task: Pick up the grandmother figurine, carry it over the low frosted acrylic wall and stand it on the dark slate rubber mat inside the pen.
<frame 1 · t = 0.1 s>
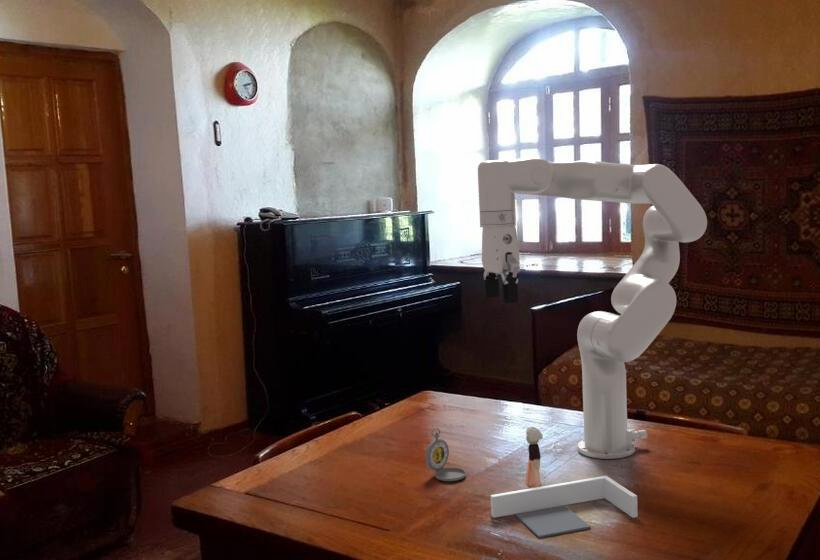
hand: (501, 300, 170), 37 cm above the table, tool pointing down, fingers open, 9 cm apart
grandmother figurine: (535, 489, 162), on the table
pocket watch: (447, 476, 171), on the table
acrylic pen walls: (551, 506, 152), resting in slate mat
slate mat: (552, 522, 145), on the table
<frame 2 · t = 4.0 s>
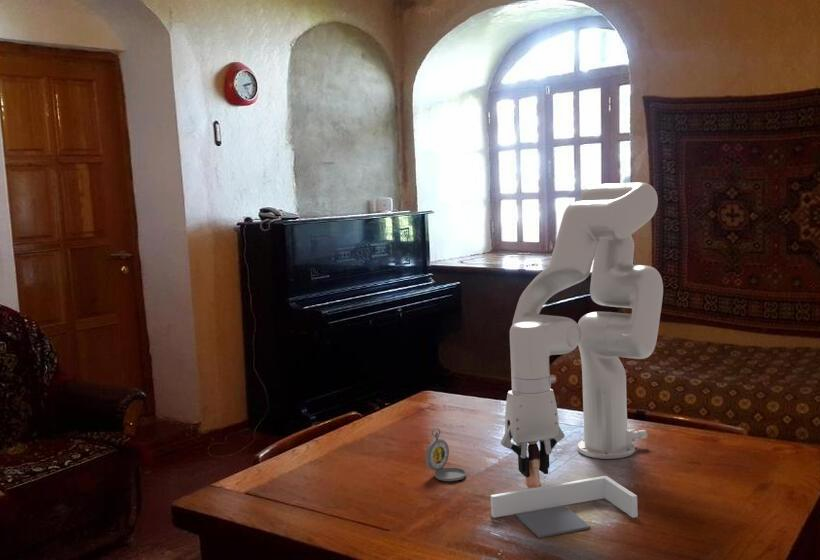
hand: (534, 472, 161), 3 cm above the table, tool pointing down, fingers closed on grandmother figurine, 3 cm apart
grandmother figurine: (534, 489, 161), on the table, touching gripper
everything else where it was.
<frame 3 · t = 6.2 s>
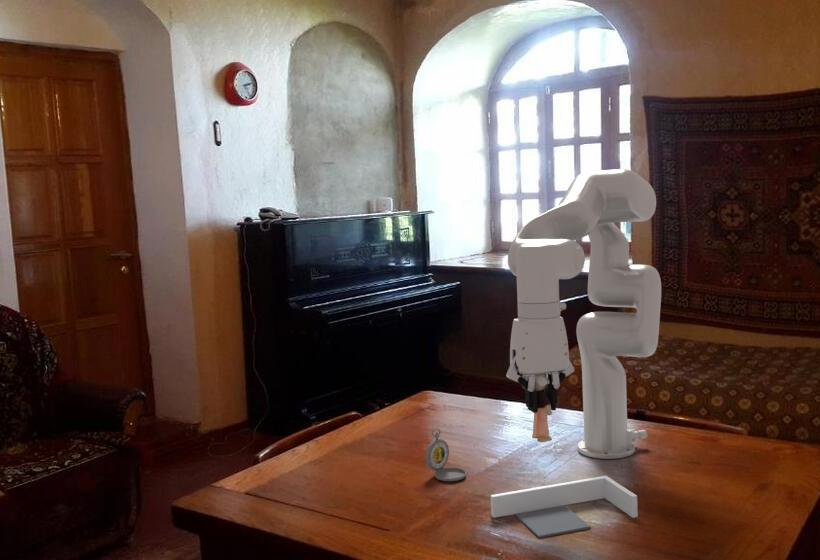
hand: (541, 408, 148), 20 cm above the table, tool pointing down, fingers closed on grandmother figurine, 3 cm apart
grandmother figurine: (543, 440, 148), point 14 cm above the table, touching gripper
everything else where it was.
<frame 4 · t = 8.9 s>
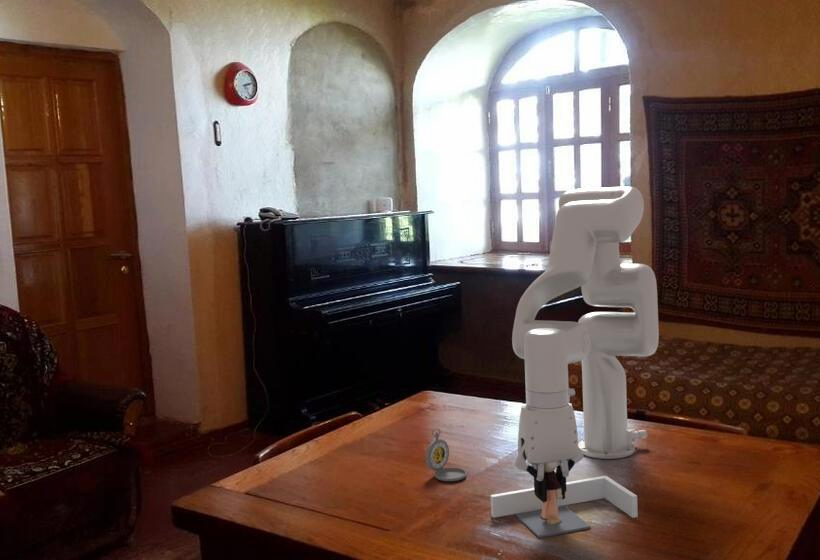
hand: (550, 497, 144), 5 cm above the table, tool pointing down, fingers closed on grandmother figurine, 2 cm apart
grandmother figurine: (552, 521, 145), resting on slate mat, touching gripper
everything else where it was.
when the fingers open (4 cm above the table, at t = 9.6 s): grandmother figurine stays where it is, resting on slate mat.
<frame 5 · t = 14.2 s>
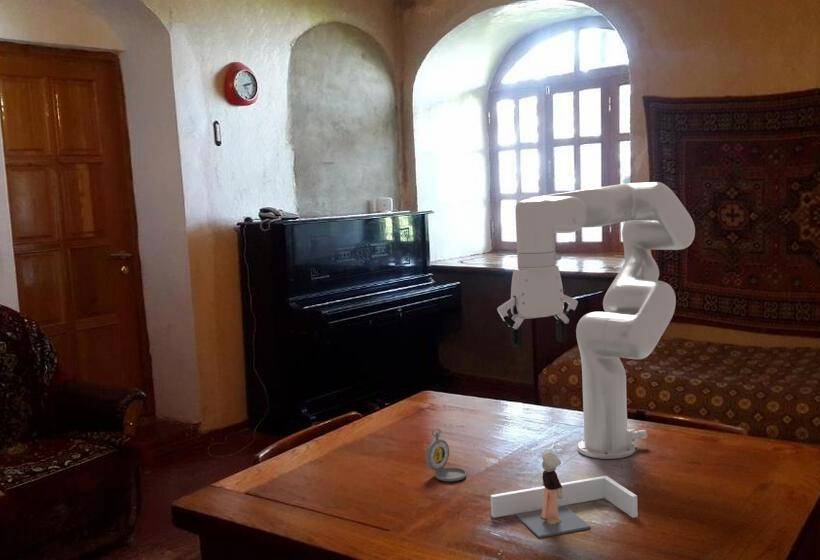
hand: (539, 344, 163), 28 cm above the table, tool pointing down, fingers open, 9 cm apart
grandmother figurine: (552, 521, 145), resting on slate mat
everything else where it was.
at the end: grandmother figurine inside the target area on the slate mat (0.1 cm from its centre), point 0.2 cm above the slate mat's base; grandmother figurine tilted 0°; the gripper is holding nothing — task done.
